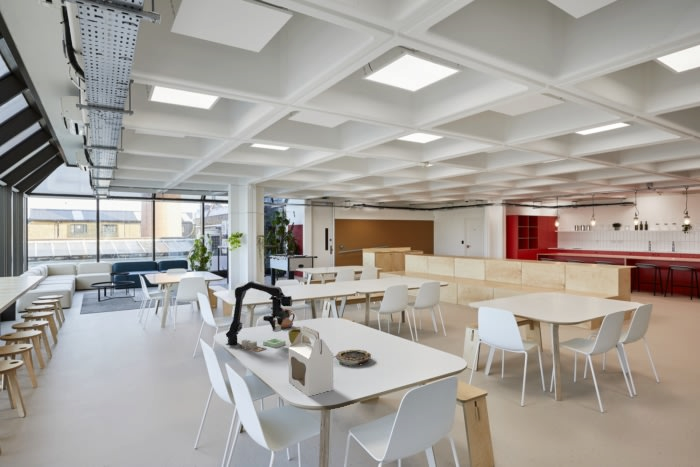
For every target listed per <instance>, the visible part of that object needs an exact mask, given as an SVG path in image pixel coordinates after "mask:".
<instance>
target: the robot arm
mask: <svg viewBox="0 0 700 467" xmlns="http://www.w3.org/2000/svg"><path fill="white" fill-rule="evenodd" d="M251 289H253V290H258V291H260V292H265V293H267V294H269V295H270V297H269V300H270V301H272V304H271V305H272V307H270V309H271V311H272V313H270V315H268V314H267V315H264V316H263V318H262V319H263V320H262V321H265V322H269V324H270V326H271V328H272V331H273V330H275V322H276V321H277V323H278V324H279V325H281V324H282V322H283V320H284V319H286V318H287V317H289V311H288V310H285V311H283V309H284V308H283V307H292V306H293V298H292V296H291V295H285V294H284V292H283V290H282V288H281V287H280V286H268V285H265V284H262V283H258V282H254V281H249V282H247V283H245V284H244V285H240V286H238V287H236V288H235V289H234V299H235V304H234V312H233V318H232V322H231V324H230V326H229V330H228V331H227V332H226V333H225V336H226V338H227V343H225V345H227V346H230V347H233V346H235V345H236V346H237V345H239V344H240V343H239V342H238V335H239V333H240V332H241V330H242V329H243V324H244V323H243V322H241V315H242V309H243V308H242V307H243V300H244V299H245V297H246V294H247V292H248V291H249V290H251Z"/></svg>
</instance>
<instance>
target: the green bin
mask: <svg viewBox="0 0 700 467" xmlns="http://www.w3.org/2000/svg"><path fill="white" fill-rule="evenodd" d="M262 346H265V347H270V348H275V349H276V348H279V347H282V346H286V340H283V339H279V338H269V339H266V340H263V341H262Z"/></svg>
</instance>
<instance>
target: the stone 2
mask: <svg viewBox="0 0 700 467" xmlns="http://www.w3.org/2000/svg"><path fill="white" fill-rule="evenodd" d="M272 332H275V333H279V332H282V328H281V325H279V324H276V325H275V330H273V329H272Z"/></svg>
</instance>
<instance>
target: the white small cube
mask: <svg viewBox="0 0 700 467" xmlns="http://www.w3.org/2000/svg"><path fill="white" fill-rule="evenodd" d="M257 346H258V342H257V341H254V340H250V342H248V348H249V349H255V348H257Z"/></svg>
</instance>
